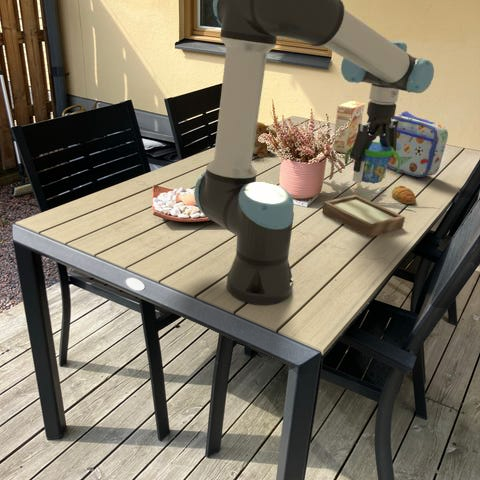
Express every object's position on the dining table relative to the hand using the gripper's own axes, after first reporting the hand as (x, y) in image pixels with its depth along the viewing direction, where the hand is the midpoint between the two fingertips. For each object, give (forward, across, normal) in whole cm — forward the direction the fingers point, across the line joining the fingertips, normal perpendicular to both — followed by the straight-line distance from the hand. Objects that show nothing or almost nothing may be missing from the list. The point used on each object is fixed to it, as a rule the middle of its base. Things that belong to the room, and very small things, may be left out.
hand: (368, 179), depth 146 cm
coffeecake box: (+14, +52, +60) cm, 80 cm away
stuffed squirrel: (+13, +12, +70) cm, 72 cm away
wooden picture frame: (+13, 0, 0) cm, 13 cm away
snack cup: (0, 0, 0) cm, 0 cm away
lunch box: (+14, +52, +27) cm, 60 cm away
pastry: (+14, +26, +6) cm, 30 cm away
